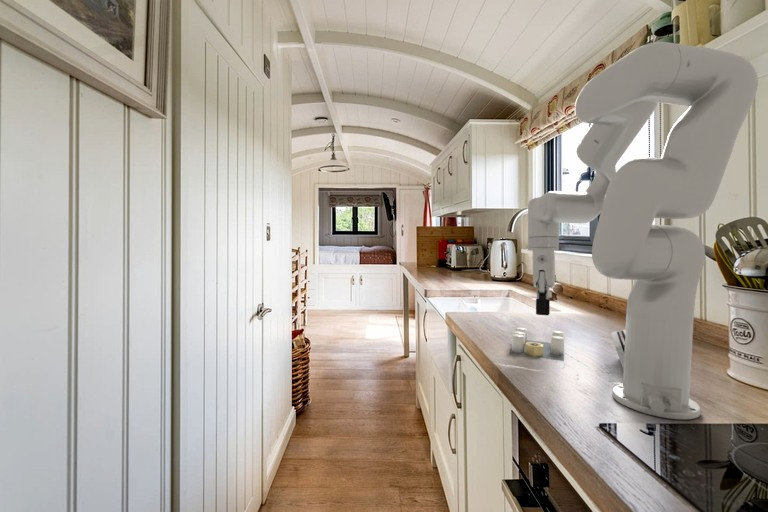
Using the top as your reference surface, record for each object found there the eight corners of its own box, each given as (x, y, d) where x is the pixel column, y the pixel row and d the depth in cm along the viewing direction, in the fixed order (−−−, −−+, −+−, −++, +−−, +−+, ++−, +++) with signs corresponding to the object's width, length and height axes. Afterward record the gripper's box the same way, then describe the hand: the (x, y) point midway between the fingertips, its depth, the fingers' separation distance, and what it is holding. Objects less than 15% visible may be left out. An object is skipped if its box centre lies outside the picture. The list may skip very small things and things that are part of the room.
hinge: (656, 385, 75) (639, 336, 76) (630, 388, 77) (613, 341, 79) (645, 363, 90) (630, 322, 91) (623, 366, 92) (609, 326, 93)
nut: (542, 357, 91) (542, 347, 91) (524, 355, 92) (525, 345, 92) (543, 352, 95) (543, 343, 95) (526, 350, 96) (526, 340, 96)
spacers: (563, 359, 90) (564, 343, 89) (510, 351, 95) (510, 336, 95) (563, 346, 101) (564, 331, 101) (516, 340, 107) (516, 326, 106)
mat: (563, 362, 89) (563, 360, 89) (509, 354, 94) (509, 352, 94) (563, 346, 103) (563, 344, 103) (516, 340, 108) (516, 338, 108)
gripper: (558, 243, 90) (558, 319, 89) (559, 246, 103) (558, 312, 103) (525, 243, 93) (524, 317, 93) (530, 246, 106) (529, 310, 106)
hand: (542, 314), depth 98 cm, fingers closed
